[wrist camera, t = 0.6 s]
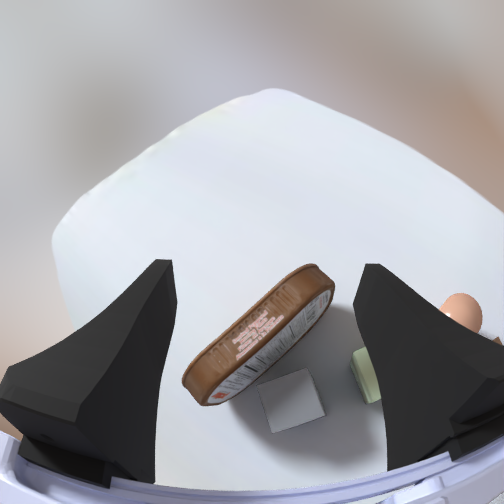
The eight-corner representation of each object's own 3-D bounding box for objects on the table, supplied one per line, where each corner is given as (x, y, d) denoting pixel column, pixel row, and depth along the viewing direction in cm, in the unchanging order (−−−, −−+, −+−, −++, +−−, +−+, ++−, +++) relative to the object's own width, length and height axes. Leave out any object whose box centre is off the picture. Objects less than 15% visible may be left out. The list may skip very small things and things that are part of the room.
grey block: (326, 415, 23) (324, 415, 19) (283, 430, 23) (272, 433, 19) (311, 375, 25) (306, 367, 21) (269, 390, 25) (256, 385, 21)
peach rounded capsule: (467, 341, 22) (489, 325, 18) (435, 361, 22) (454, 349, 18) (450, 306, 24) (468, 285, 20) (418, 325, 24) (432, 306, 20)
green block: (405, 384, 22) (423, 375, 17) (365, 404, 22) (374, 401, 17) (389, 346, 24) (401, 328, 19) (349, 365, 24) (353, 352, 19)
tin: (318, 286, 29) (310, 240, 22) (342, 306, 28) (342, 265, 21) (205, 389, 27) (159, 376, 20) (224, 414, 25) (182, 410, 18)
